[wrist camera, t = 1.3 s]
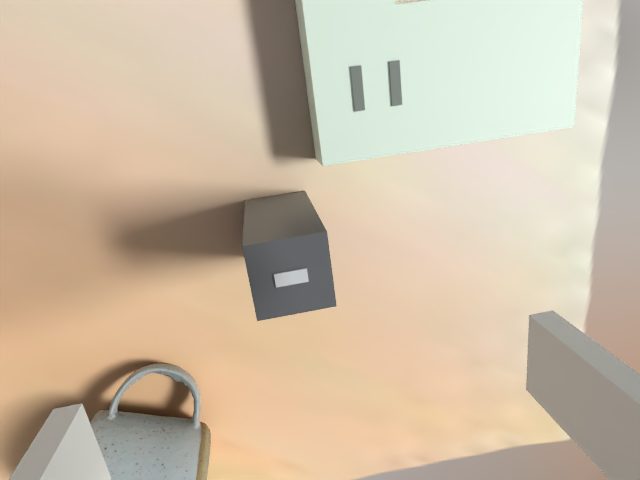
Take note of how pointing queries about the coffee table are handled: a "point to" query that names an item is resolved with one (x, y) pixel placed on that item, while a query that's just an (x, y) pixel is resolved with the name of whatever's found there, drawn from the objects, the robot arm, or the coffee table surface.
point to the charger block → (286, 256)
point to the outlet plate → (435, 72)
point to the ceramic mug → (153, 437)
